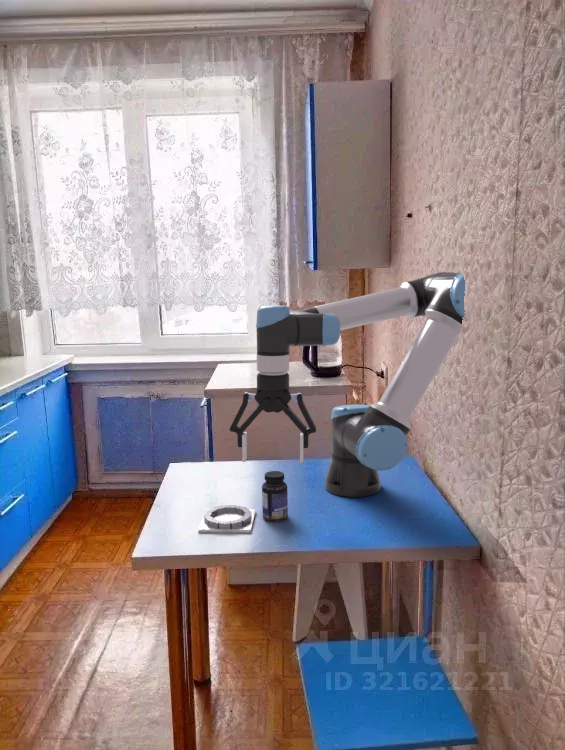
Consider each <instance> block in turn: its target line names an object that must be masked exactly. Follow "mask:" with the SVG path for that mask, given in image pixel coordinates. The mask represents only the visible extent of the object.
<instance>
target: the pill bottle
mask: <svg viewBox="0 0 565 750" xmlns="http://www.w3.org/2000/svg"><path fill="white" fill-rule="evenodd" d="M264 480H265V482H263V483H262V486H261V501H262V502H261V503H262V507H261V509H262V518H263V519H264V520H265V521H268V522H283V521H284V520H286V519H288V516H289V513H288V512H289V510H288V509H289V507H288V504H289V502H288V485H287V483H286V482H285V481H284V480H285V473H284V472H283V471H279V470H270V471H267V472H265V473H264Z"/></svg>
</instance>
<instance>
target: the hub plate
mask: <svg viewBox="0 0 565 750" xmlns="http://www.w3.org/2000/svg"><path fill="white" fill-rule="evenodd" d="M256 510H257V509H256V508H254V509H253V508H252V509H251V508H248V507H246V506H242V505H235V504H226V505H219V506H214V507H211V508H207V509H206V511H205V512H204V516H203V518H202V519H201V522H200V525H199V526H198V528H197V532H198V533H211V534H214V533H216V534H217V533H219V534H251V532H252V530H253V525H254V521H255V517H256Z"/></svg>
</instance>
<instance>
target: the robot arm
mask: <svg viewBox="0 0 565 750" xmlns="http://www.w3.org/2000/svg"><path fill="white" fill-rule="evenodd" d="M464 291H465V280H464V276H463V275H462V274H460V273H454V271H453V272H447V271H445V272H444V271H442V272H437V273H433V274H429V275H426V276H424V277H421V278H416V279H413V280H410V281H405V282H403V283H401V284H400V286H399V287H396V288H391V289H388V290H387V289H386V290H383V291H379V292H374V293H369V294H366V295H361V296H356V297H355V296H354V297H350V298H347V299H343V300H338V301H334V302H329V303H324V304H321V305H315V306H312V307H308V308H303V309H291V310H290V307H289V306H287V305H272V304H271V305H269V304H268V305H261V306H259V307H258V308H257V311H256V324H255V327H256V371H257V372H258V373H257V374H256V393H251V392H249V391H245V392H244V393H243V395H242V396H243V397H242V403H241V406H240V407H239V409H238V411H237V413H236V414H235V417H234V418H233V419H234V420H233V421H232V423H231V425H230V427H229V431H230V432H231V433H235V434H237V447H238V448H241V449H242V450H241V452H242V453H241V455H242V457H241V460H242V461H241V462H242V463H245V462H246V461H247V459H248V457H247V455H248V451H247V450H248V449H247V448H248V445H247V444H248V443H247V442H248V440H247V439H248V438H247V435H248V433H247V431H246V430H247V428H248V427H249V426H250V425H251V424H252V423H253V422H254V420H255V419H256V418H257V417H258V416H259V415H260V414H261V413H262V411H264V412H266V413H273V412H274V413H277V414H278V413H281V412H283V413H284V414H285V415H286V416H287V417H288V418H289V420H290V421H292V423H293V424H294V425H295V426H296V427H297V429H298V430H299V431H300V433H299V463H300V464H303V463H304V449H308V448H309V437H310V436H309V435H310V434H314V433H316V432H317V427H316V425H315V422H314V420H313V418H312V416H311V415H310V412H309V410H308V407H306V406H307V405H305V402H304V397H303V393H302V392H300V391H299V392H297V393H291V392H290V374H289V373H288V372H289V371H290V347H310V346H311V347H315V346H319V347H320V346H321V347H325V346H333V345H336V344H337V343H338V342H339V340H340V336H341V331H343V330H348V329H353V328H358V327H361V326H365V325H369V324H374V323H379V322H383V321H387V320H391V319H396V318H400V317H405V316H406V317H407V318H410V319H413V318H417V317H424V316H425V318H426V321H425V322H424V324H423V325H422V328H421V329H420V331H419V332H418V334H417V335H416V337H415V339H414V341H413V342H412V345H411V347H410V348H409V349H408V351H407V353H406V355H405V356H404V358H403V360H402V361H401V364H400V365H399V366H398V368H397V370H396V372H395V374H394V375H393V377H392V379H391V380H390V382H389V384H388V385H387V386H386V389H385V391H384V392H383V394H382V396H381V397H380V399H379V401H377V402H375V403H370V404H343V405H342V404H341V405H338V406H335V407H333V409H332V411H331V418H330V421H331V423H330V424H331V428H330V429H331V433H330V434H331V437H330V438H331V439H330V440H331V441H330V442H331V460H330V463H329V466H328V470H327V473H326V475H325V479H324V487H325V490H327V492H329V493H331V494H333V495H336V496H341V497H345V498H346V497H348V498H361V497H369V496H372V495H375V494H377V493H379V492H380V491H381V478H380V474H379V471H381V472H383V471H388V470H391V469H394V468H395V467H397V466H398V465H399V464H401V462H402V461H403V460H404V458H405V457H406V455H407V452H408V447H409V446H408V438H407V436H408V434H409V432H410V431H411V429H412V428H411V423H410V418H411V417H412V416H413V413H414V412H415V410H416V408H417V407H418V405H419V403H420V401H421V400H422V398H423V396H424V395H425V393H426V391H427V389H428V388H429V386H430V385H431V383H432V381H433V379H434V377H435V376H436V375H437V372H438V370H440V367H441V366H442V364H443V362H444V361H445V359H446V357H447V356H448V354H449V352H450V350H451V348H452V347H453V345H454V344H455V342H456V340H457V339H458V337H459V336H458V335H459V333H460V331H461V328H462V320H463V319H462V318H463V317H464V315H465V313H464V312H465V310H464V296H465V293H464ZM253 400H255V401H256V403H257V404H258V405H257V406H256V408H255V409H254V410H253V411H252V413H250V415H249V416H248V417H247V418H246V419H245V420H244V422H243V423H242V424H241V425H240V426H238V424H239V422H240V420H241V419H242V417H243V414H244V413H245V410H246V408H247V407H248V404H249V403H252V401H253ZM291 400H293V401H294V403H295V404H297V405H298V409H299V410H300V412H301V414H302V416H303V418H304V420H305V422H306V424H307V426H308V427H307V426H306V425H305V424H304V423H303V421H302V420H301V419H300V418H299V416H298V415H297V414H296V413H295V412H294V411H293V410H292V408H291V407H290V405H289V403H290V401H291Z"/></svg>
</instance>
